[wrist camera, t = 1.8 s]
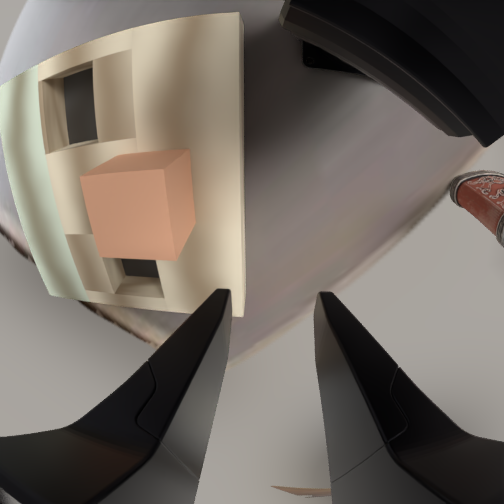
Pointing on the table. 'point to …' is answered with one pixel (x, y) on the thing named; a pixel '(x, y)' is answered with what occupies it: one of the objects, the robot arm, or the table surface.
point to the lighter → (482, 198)
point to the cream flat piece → (133, 141)
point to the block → (141, 204)
